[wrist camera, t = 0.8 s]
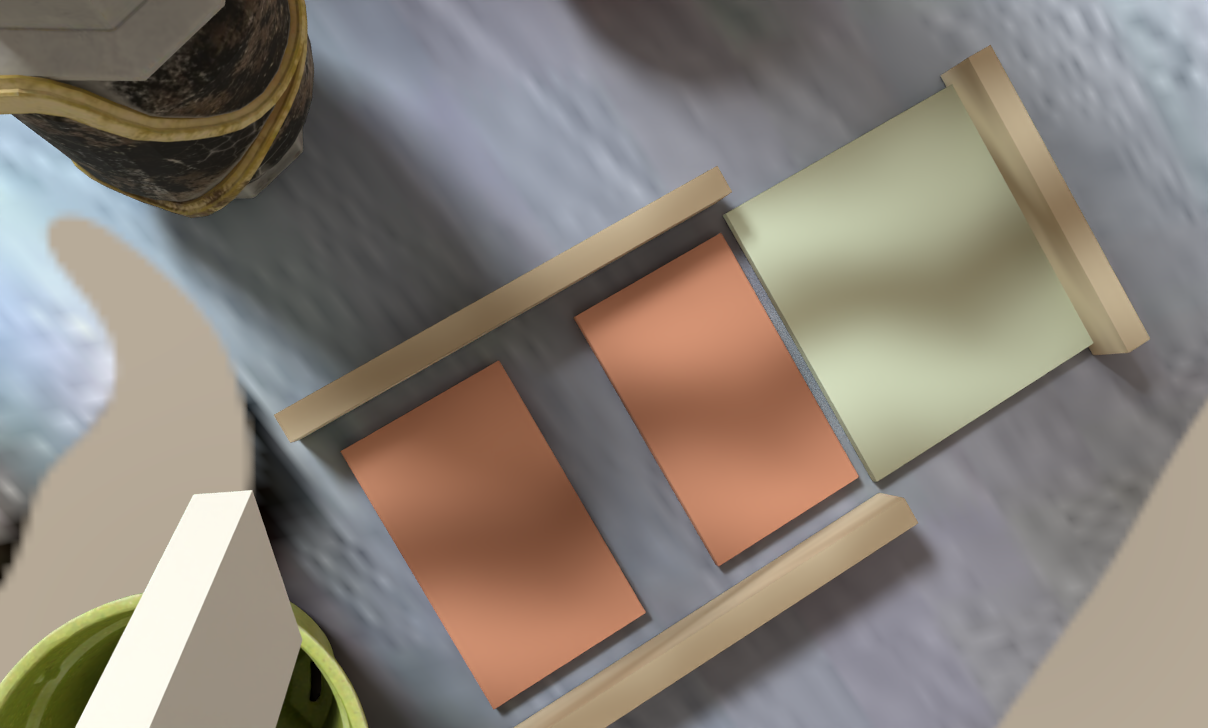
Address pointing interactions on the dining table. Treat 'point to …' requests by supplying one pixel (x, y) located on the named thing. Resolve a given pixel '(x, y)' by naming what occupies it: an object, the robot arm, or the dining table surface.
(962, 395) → the trap box
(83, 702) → the plant pot
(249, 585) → the robot arm
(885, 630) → the dining table surface
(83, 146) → the lantern
